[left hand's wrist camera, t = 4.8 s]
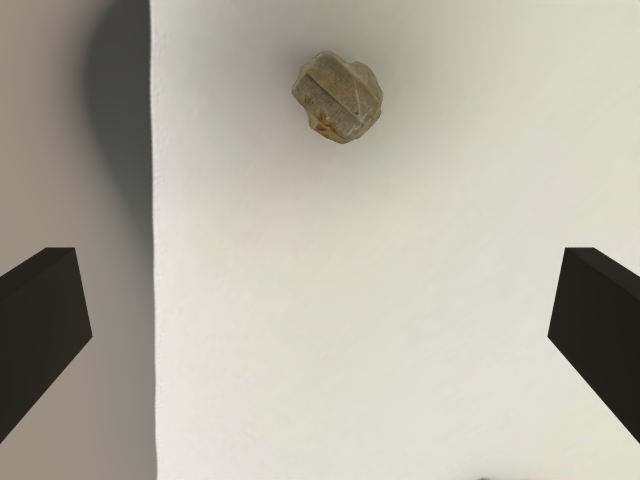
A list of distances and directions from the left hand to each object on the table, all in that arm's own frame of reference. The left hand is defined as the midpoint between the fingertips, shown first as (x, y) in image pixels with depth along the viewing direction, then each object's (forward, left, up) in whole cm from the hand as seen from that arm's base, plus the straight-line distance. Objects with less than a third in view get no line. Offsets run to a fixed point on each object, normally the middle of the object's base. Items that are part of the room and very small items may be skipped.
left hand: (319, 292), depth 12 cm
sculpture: (-4, +1, -32) cm, 32 cm away
